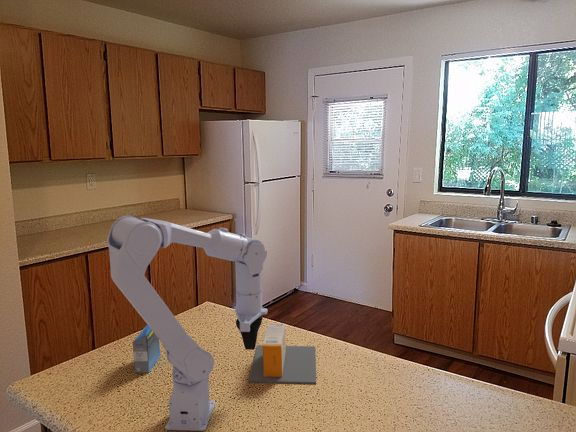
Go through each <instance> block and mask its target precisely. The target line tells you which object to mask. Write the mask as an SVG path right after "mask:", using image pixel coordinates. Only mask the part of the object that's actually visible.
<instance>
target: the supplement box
mask: <svg viewBox="0 0 576 432" xmlns="http://www.w3.org/2000/svg"><path fill="white" fill-rule="evenodd" d="M285 323H286V322H285ZM285 323H283V322H282V323H281V322H280V323H279V322H277V323H276V322H275V323H273V322H272V323H267V326H266V330H265V334H264V338H263V341H262V349H263V373H264V377H282V374H283V367H284V360H285V353H286V346H287V344H286V324H285Z"/></svg>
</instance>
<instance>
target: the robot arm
mask: <svg viewBox="0 0 576 432" xmlns="http://www.w3.org/2000/svg"><path fill="white" fill-rule="evenodd" d="M108 232H109V233H108V236H107V239H106V244H107V247H108V251H109V263H110V264H109V265H110V269H109V270H110V277H111V280H112V281H113V283H114V284H115V285H116V287H117V288H118V290H119V291H120V292H121V293H122V294H123V295H124V297H125V298H126V299H127V301H128V302H129V303H130V304H131V306H132V307H133V308H134V309H135V311H136V312H137V313H138V315H139V316H140V317H141V318H142V320H143V321H144V322H145V323H146V326H147V325H148V326H149V327H150V328H151V330H152V331H153V332H154V333H155V335H156V336H157V337H158V338H159V342H161V343H162V344H161V346H162V347H163V348H164V350H165V355H166V360H167V362H169V364H171V365H172V373H171V374H172V375H171V376H172V392H171V394H170V397H169V399H168V410H169V413H168V414H169V419H168V421H167V423H166V425H165V430H167V431H196V432H197V431H199V432H200V431H201V432H202V431H203V432H204V431H206V429H207V426H208V423H209V420H210V418H211V415H212V413H213V410H214V406H215V404H216V401H215V400H210V379H209V376H210V375H211V374H212V372H213V369H214V365H215V359H214V356H213V355H212V354H211V353H210V352H209V351H207V350H205V349H204V348H202V347H201V346H200V345H199V344H198V343H197V342H196V341H195V340H194V339H193V338H192V337H191V336H190V335H189V334H188V333H187V331H186V329H185V328H184V326H182V324H181V323H180V321H179V320H178V319H177V318H176V316H175V315H174V314H173V313H172V311H171V310H170V308H169V307H168V305H167V304H166V303H165V302H164V300H163V298H162V297H161V296H160V295H159V294H158V292H157V290H156V289H155V288H154V287H153V285H152V284H151V282H150V281H149V280H148V279H147V277H146V276H145V275H146V272H147V269H148V266H149V265H150V264H151V262H152V261H153V259H154V258H155V256H156V255H157V253H158V251H159V250H160V248H162V249H165V248H167V247H168V246H170V245H171V244H172V243H176V244H180V245H187V246H191V247H196V248H202V249H203V250H204V253H205V254H206V256H208V257H212V258H217V259H222V260H226V261H231V262H235V263H234V268H235V296H236V297H235V300H236V303H235V304H236V305H235V306H236V309H235V315H236V321H235V325H236V328H237V330H238V331H239V332H240V335H241V337H242V342H243V346H244V349H245V350H249V351H251V350H252V351H254V350H255V348H256V346H257V339H258V335H259V330H260V328H261V325H262V322H263V318H264V315H267V314H268V308H263V284H262V281H263V279H262V275H263V274H262V271H263V270H264V269H263V268H264V267H263V265H264V263H265V260H266V259H267V255H268V251H267V250H266V249H265V245H264V243H262V241H260V240H259V239H256V238H251V237H247V235H246V234H245V233H241V232H239V233H238V234H236V233H233V232H229V230H228V228H225V227H221V226H220V227H219V228H212V229H211V230H209V231H208V232H204V231H200V230H197V229H193V228H190V227H187V226H185V225H184V226H183V225H180V224H176V223H173V222H169V221H167V220H161V219H153V218H148V217H140V219H139V218H138V217H136V216H133V215H123V216H121V217H119V218H117V219H116V220H115V221H114V222H113V223H112V225H111V227H110V229H109V231H108Z"/></svg>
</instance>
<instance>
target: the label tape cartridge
mask: <svg viewBox="0 0 576 432" xmlns="http://www.w3.org/2000/svg"><path fill="white" fill-rule="evenodd" d="M132 350H133V351H132V354H133V366H134V373H135V374H149V373H150V372H151V370H152V369H153V368H154V366H155V364H156V363H157V361H158V360H159V359H160V358H161V347H160V340H159V338H158V337H157V336H156V335H155V333H154V332H153V331H152V330H151V328H150V327H149V326H148V325H147V324H146V325H145V326H144V328H143V329H142V330H141V331H140V332H139V334H138V335H137V336H136V337H135V339H134V340H133V341H132Z"/></svg>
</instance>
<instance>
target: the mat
mask: <svg viewBox="0 0 576 432" xmlns="http://www.w3.org/2000/svg"><path fill="white" fill-rule="evenodd" d="M262 345H263V344H262ZM262 345H260V344H259V345H257V344H256V350H255V353H254V358H253V362H252V366H251V370H250V374H249V377H248V383H262V384H265V383H266V384H268V383H269V384H270V383H271V384H304V385H305V384H307V385H308V384H311V385H312V384H314V385H315V384H317V368H316V367H317V366H316V365H317V363H316V346H314V345H313V346H311V345H309V346H308V345H305V346H304V345H286V353H285V360H284V367H283V374H282V377H264V373H263V349H262Z"/></svg>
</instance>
